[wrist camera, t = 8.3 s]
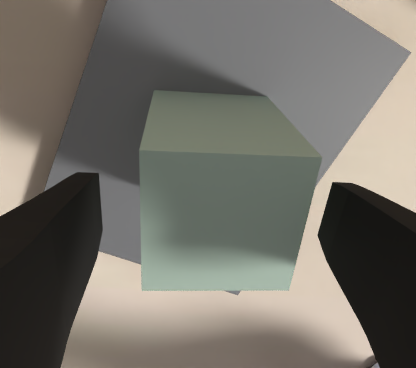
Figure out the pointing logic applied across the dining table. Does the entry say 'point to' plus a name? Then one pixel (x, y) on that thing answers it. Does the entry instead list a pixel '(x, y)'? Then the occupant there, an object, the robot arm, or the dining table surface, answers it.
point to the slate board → (215, 84)
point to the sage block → (222, 193)
